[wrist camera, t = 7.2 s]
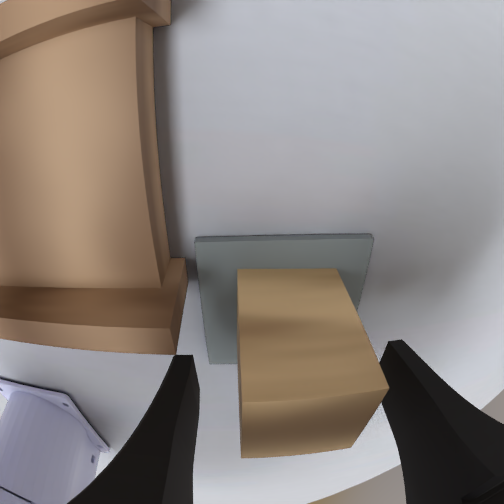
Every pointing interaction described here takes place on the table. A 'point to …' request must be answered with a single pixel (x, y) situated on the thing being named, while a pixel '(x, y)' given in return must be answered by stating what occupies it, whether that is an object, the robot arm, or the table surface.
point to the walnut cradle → (84, 179)
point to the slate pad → (267, 257)
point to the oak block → (302, 363)
